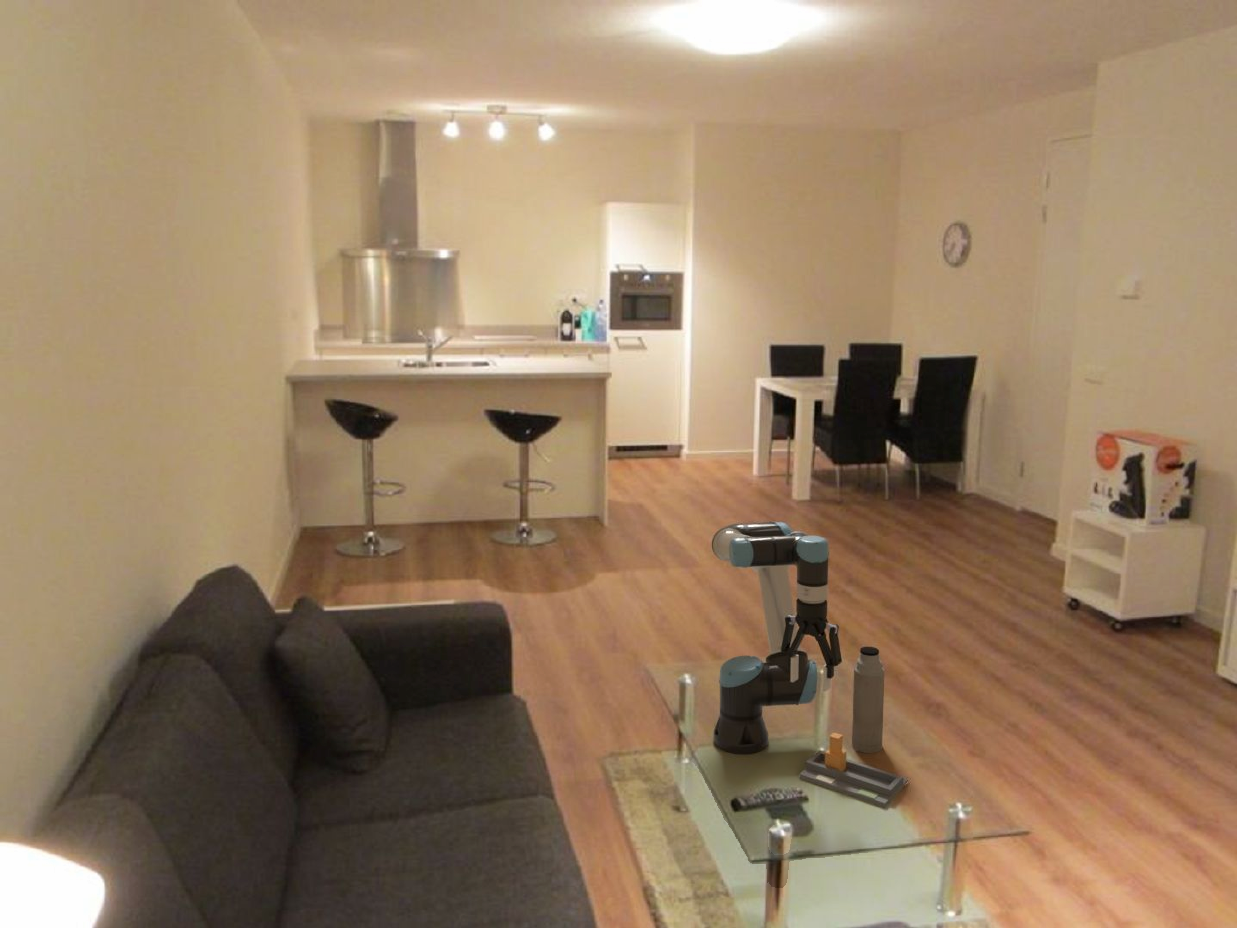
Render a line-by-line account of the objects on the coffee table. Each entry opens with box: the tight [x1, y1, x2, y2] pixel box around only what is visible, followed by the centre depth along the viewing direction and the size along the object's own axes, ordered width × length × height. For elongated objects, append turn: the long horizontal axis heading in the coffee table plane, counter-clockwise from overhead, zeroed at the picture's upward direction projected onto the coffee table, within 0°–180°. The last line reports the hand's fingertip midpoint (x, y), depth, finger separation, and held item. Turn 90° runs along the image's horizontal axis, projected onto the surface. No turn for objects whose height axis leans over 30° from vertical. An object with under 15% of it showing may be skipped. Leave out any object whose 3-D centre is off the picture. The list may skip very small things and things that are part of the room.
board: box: [799, 749, 909, 808], centre depth 241 cm, size 23×14×3 cm, turn 51°
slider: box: [824, 732, 848, 771], centre depth 243 cm, size 4×4×9 cm
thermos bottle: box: [851, 646, 886, 754], centre depth 256 cm, size 8×8×28 cm
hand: (810, 684), depth 239 cm, fingers open, 8 cm apart
